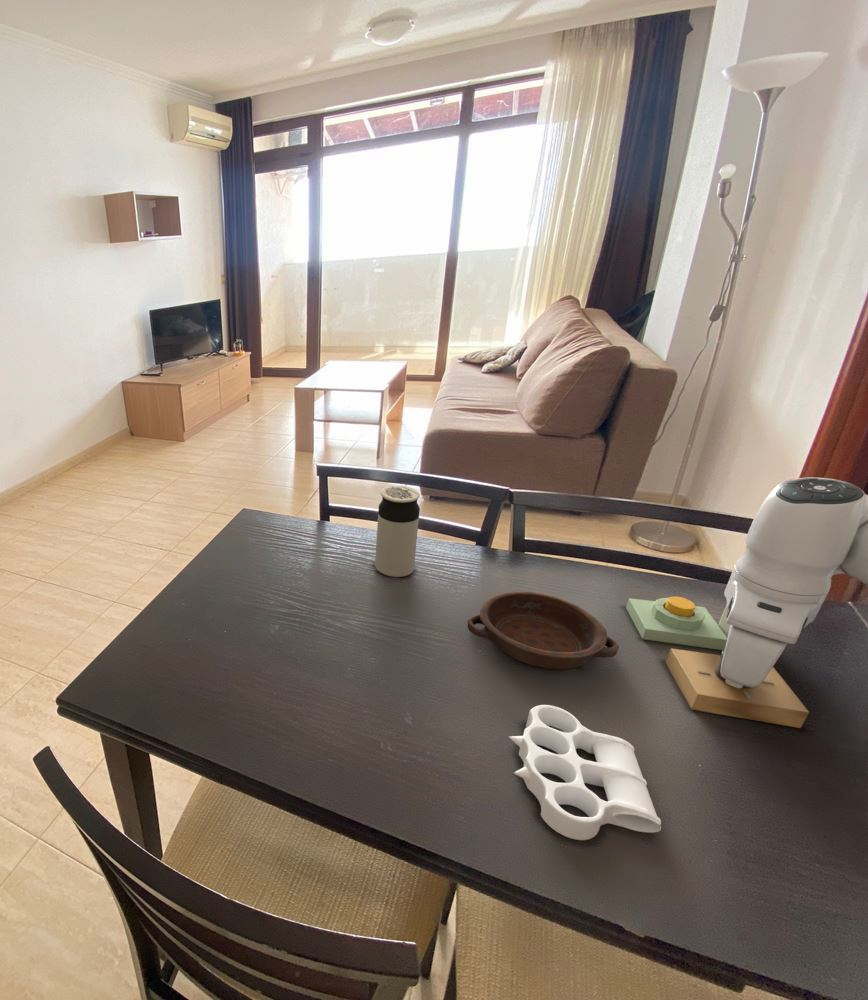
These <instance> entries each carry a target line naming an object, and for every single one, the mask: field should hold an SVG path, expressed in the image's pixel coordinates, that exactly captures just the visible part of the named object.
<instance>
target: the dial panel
mask: <svg viewBox="0 0 868 1000" xmlns="http://www.w3.org/2000/svg"><path fill="white" fill-rule="evenodd" d="M720 657H721V654H713V653H706V652H698V651H693V650H684V649H679V648H678V649H677V648H670V650H669V653H668V655H667V658H666V661H665V665H666V666H667V668H668V670H669V672H670V674H671V675H672V677H673V679H674V681H675V682H676V685H677V686H678V688H679V689H680V691H681V693H682V695H683V697H684V698H685V700H686V702H687V704H688V706H689V708H690V710H694V711H697V712H698V711H699V712H704V713H711V714H715V715H721V716H726V717H733V718H739V719H743V720H744V719H746V720H751V721H757V722H762V723H768V724H773V725H774V724H775V725H780V726H786V727H791V728H797V729H802V727H803V725H804V723H805V721H806V719H807V717H809V713H810V711H809V710H808V709H807V707H806V706H805V705H804V703H802V701H801V700H800V699H799V697H798V696H797V695H796V694H795V692H794V691H793V689H791V687H790V686H789V685H788V683H787V682H786V681H785V680H784V678H783V677H782V676H781V675H780V673H778V671H777V670H776V668H775V666H773V667H772V669H771V670H770V672H769V673H768V675H767V676H766V678H765V679H764V680H763V682H762V683H761V684H760V685H759V686H758V687H756V688H736V687H733V686H731V685H728V684H727V683H726V682H724V681H723V680H721V679H720V678H719V677H718V676H717V675H716V674H715V668H716V666H717V664H718V661H719V659H720Z"/></svg>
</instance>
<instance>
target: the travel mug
mask: <svg viewBox="0 0 868 1000" xmlns="http://www.w3.org/2000/svg"><path fill="white" fill-rule="evenodd" d="M380 496H381V499H382V500H381V501H380V503H379V504H378V510H377V526H376V527H377V528H376V543H375V556H374V557H375V559H374V567H375V569H376V570H377V571H378V572H379V573H380V574H383V575H386V576H389V577H396V578H398V577H406V576H409V575H410V574H412V573H413V572H414V570H415V562H416V551H417V541H418V530H419V522H420V510H421V508H420V505H419V504H418V501H419V499H420V496H421V494H420V492H419V490H417V489H415V488H414V487H411V486H406V485H391V486H390V485H389V486H387V487H383V488H382V490H381V491H380Z"/></svg>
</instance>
